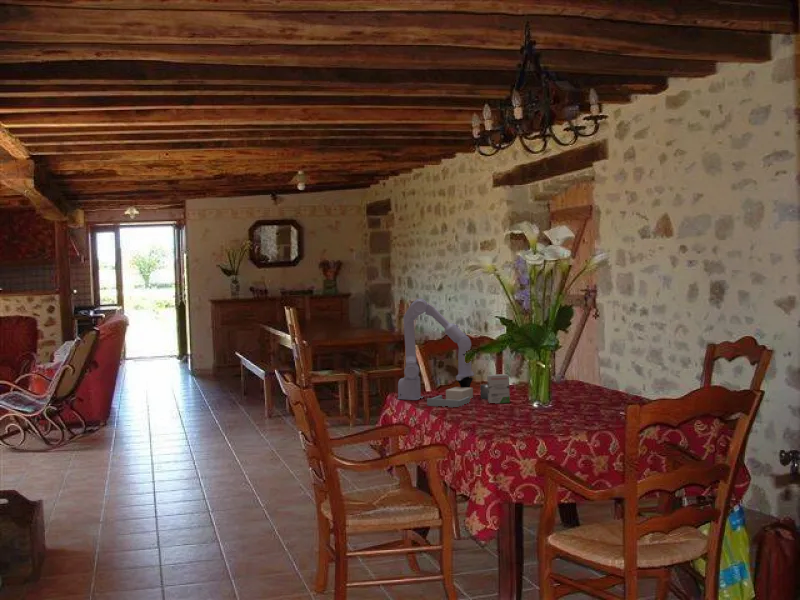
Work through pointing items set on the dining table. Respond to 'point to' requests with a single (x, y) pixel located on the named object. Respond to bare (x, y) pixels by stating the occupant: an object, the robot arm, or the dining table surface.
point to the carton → (459, 393)
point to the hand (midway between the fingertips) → (465, 394)
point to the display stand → (446, 402)
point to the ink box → (498, 388)
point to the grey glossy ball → (484, 391)
